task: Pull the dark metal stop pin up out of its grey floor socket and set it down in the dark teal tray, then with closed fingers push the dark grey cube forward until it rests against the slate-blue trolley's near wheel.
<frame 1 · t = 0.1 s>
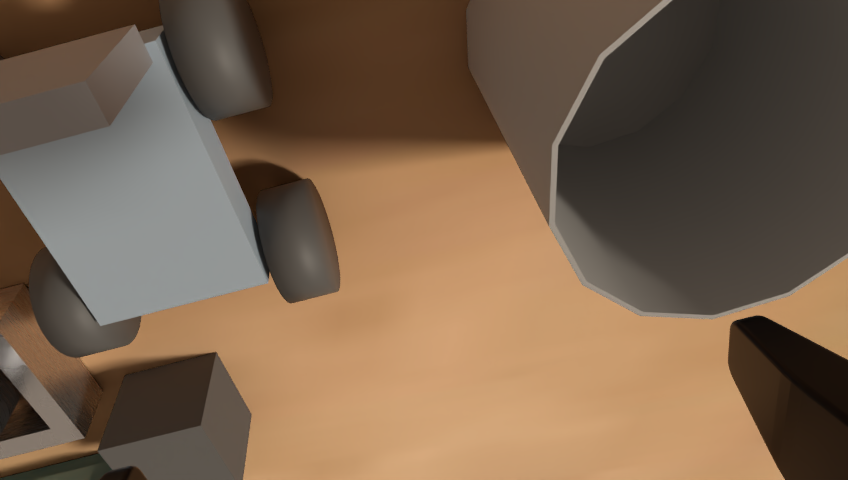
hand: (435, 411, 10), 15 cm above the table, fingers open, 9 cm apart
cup: (588, 24, 22), on the table
dark grey cube: (190, 394, 29), on the table
trolley: (168, 166, 23), on the table
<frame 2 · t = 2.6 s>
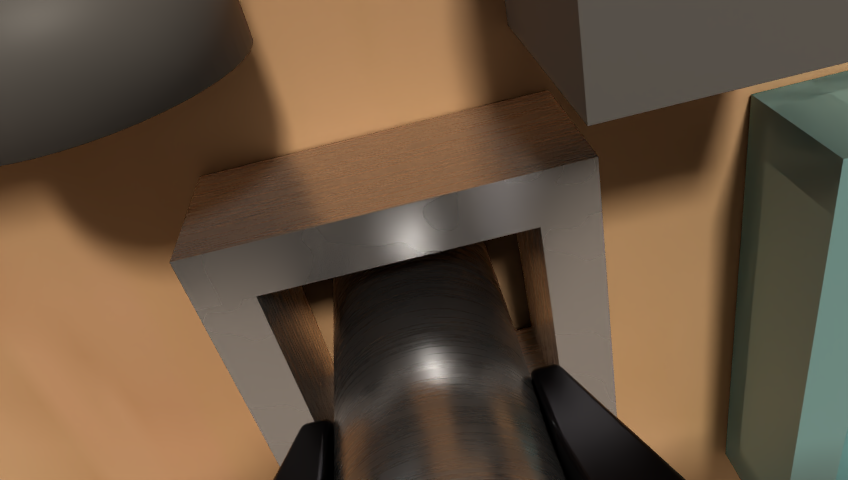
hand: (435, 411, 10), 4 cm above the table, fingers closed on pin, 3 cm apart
socket: (412, 272, 13), on the table
pin: (445, 466, 9), in the socket, touching gripper
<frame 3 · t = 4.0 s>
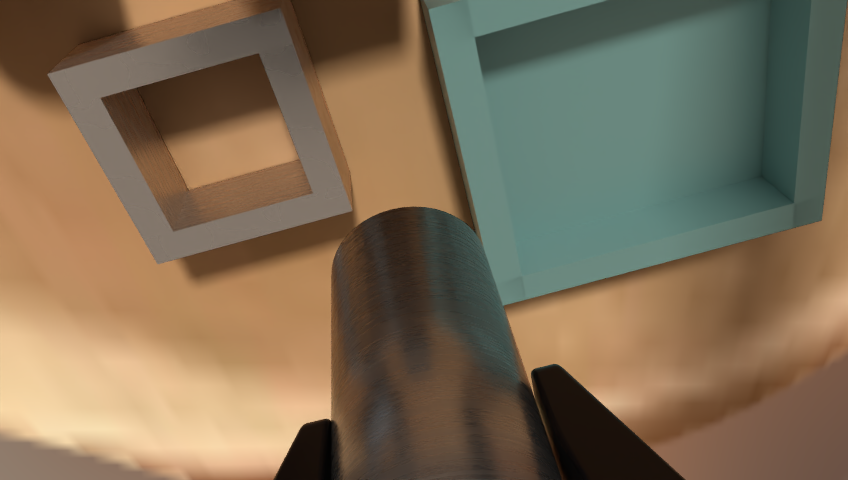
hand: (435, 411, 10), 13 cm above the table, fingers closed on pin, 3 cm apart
tray: (619, 98, 21), on the table
socket: (225, 113, 20), on the table
pin: (442, 468, 9), point 14 cm above the table, touching gripper
when the fingers open (5 cm above the table, at t = 5.5 s): pin stays where it is, resting on tray.
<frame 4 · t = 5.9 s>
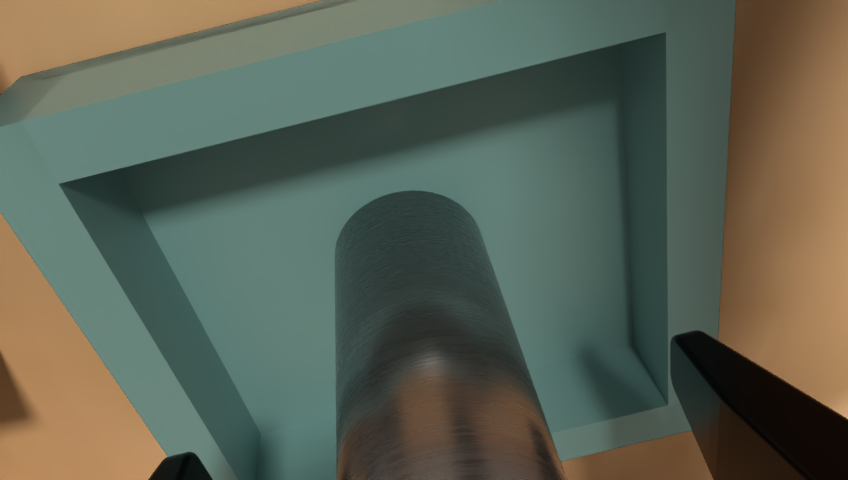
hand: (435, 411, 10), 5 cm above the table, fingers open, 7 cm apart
tray: (405, 237, 14), on the table
pin: (440, 431, 10), in the tray, point 5 cm above the table
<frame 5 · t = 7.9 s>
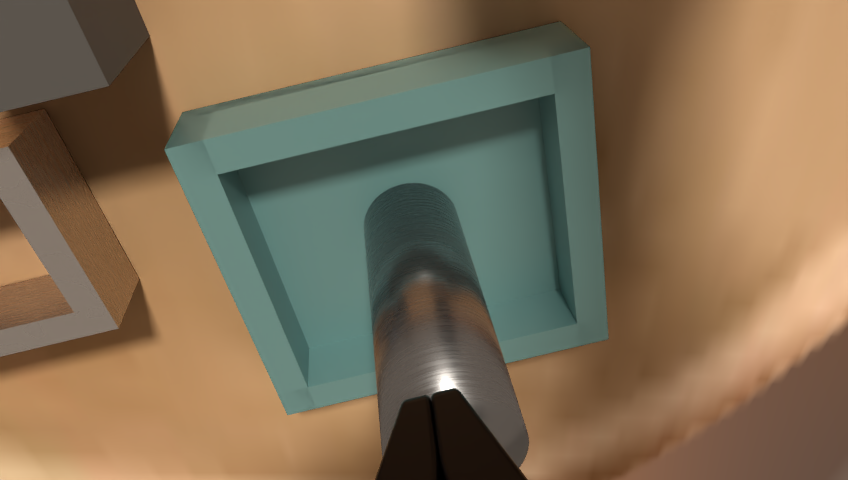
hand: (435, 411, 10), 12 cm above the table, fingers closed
tray: (408, 214, 22), on the table
pin: (428, 314, 17), in the tray, point 5 cm above the table
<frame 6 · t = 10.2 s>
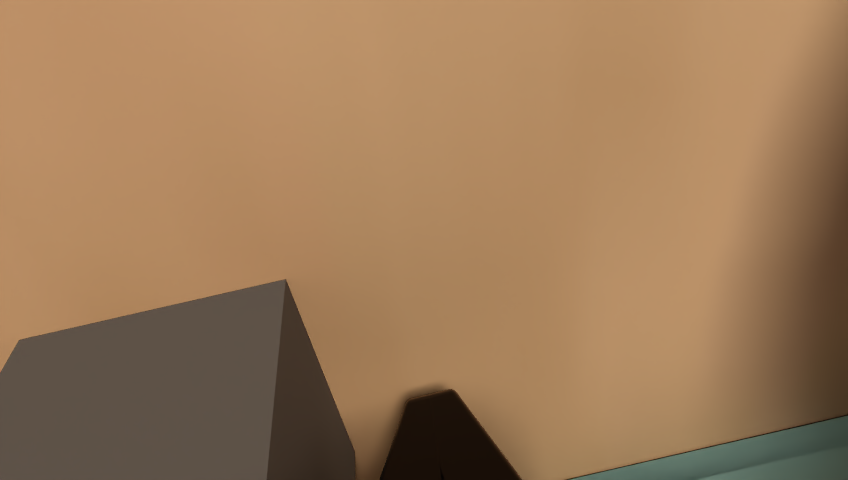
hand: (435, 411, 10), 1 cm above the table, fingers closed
dark grey cube: (203, 401, 11), on the table, touching gripper
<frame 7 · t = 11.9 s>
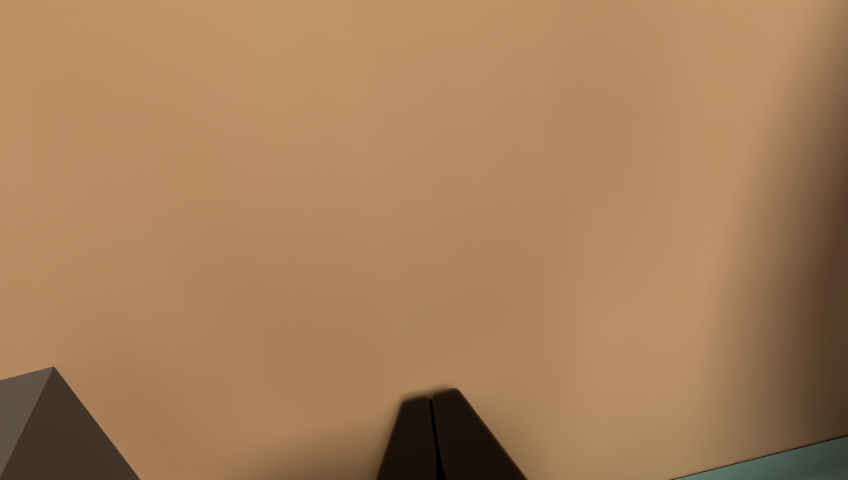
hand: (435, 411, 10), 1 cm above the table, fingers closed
dark grey cube: (3, 478, 11), on the table
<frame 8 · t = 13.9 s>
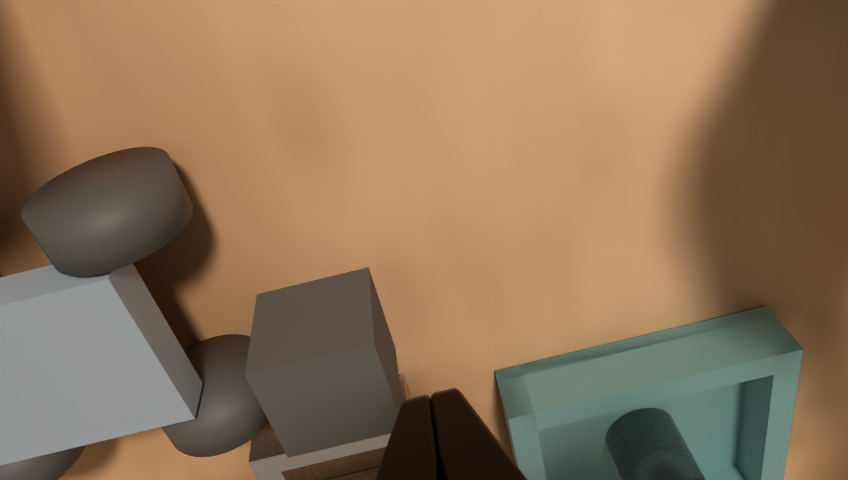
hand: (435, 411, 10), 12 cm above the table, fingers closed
tray: (633, 420, 29), on the table
dark grey cube: (329, 321, 24), on the table
trolley: (95, 293, 22), on the table
socket: (350, 440, 28), on the table
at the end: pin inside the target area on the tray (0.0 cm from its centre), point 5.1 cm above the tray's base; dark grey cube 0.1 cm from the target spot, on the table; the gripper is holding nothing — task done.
